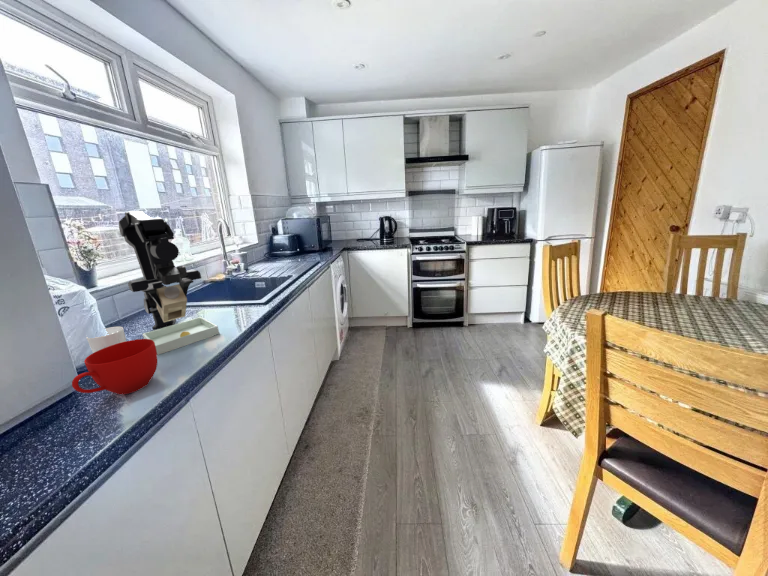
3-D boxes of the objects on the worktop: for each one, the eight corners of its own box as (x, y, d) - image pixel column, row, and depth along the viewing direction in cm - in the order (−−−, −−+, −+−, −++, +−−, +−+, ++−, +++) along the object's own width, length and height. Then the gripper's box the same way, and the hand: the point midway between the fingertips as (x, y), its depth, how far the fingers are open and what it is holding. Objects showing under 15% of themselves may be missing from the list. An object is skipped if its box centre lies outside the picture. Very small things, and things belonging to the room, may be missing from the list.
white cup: (112, 371, 83) (100, 338, 80) (90, 369, 84) (78, 337, 82) (139, 357, 90) (130, 326, 87) (119, 356, 92) (108, 326, 89)
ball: (180, 334, 100) (180, 329, 98) (191, 334, 101) (190, 329, 99) (179, 342, 98) (179, 337, 96) (190, 341, 99) (190, 336, 97)
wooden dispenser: (156, 307, 102) (156, 286, 94) (177, 302, 107) (179, 281, 99) (163, 322, 101) (164, 301, 93) (185, 316, 105) (187, 296, 97)
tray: (144, 341, 101) (142, 333, 100) (202, 324, 114) (200, 316, 113) (157, 355, 91) (154, 346, 90) (219, 333, 103) (217, 325, 103)
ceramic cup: (63, 412, 66) (46, 372, 63) (138, 370, 82) (127, 337, 79) (107, 417, 63) (92, 376, 60) (176, 373, 79) (166, 339, 76)
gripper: (128, 266, 83) (144, 318, 87) (201, 255, 96) (212, 300, 101) (121, 263, 90) (136, 311, 95) (190, 253, 104) (200, 295, 108)
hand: (173, 304), depth 99 cm, fingers closed on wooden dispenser, 6 cm apart
